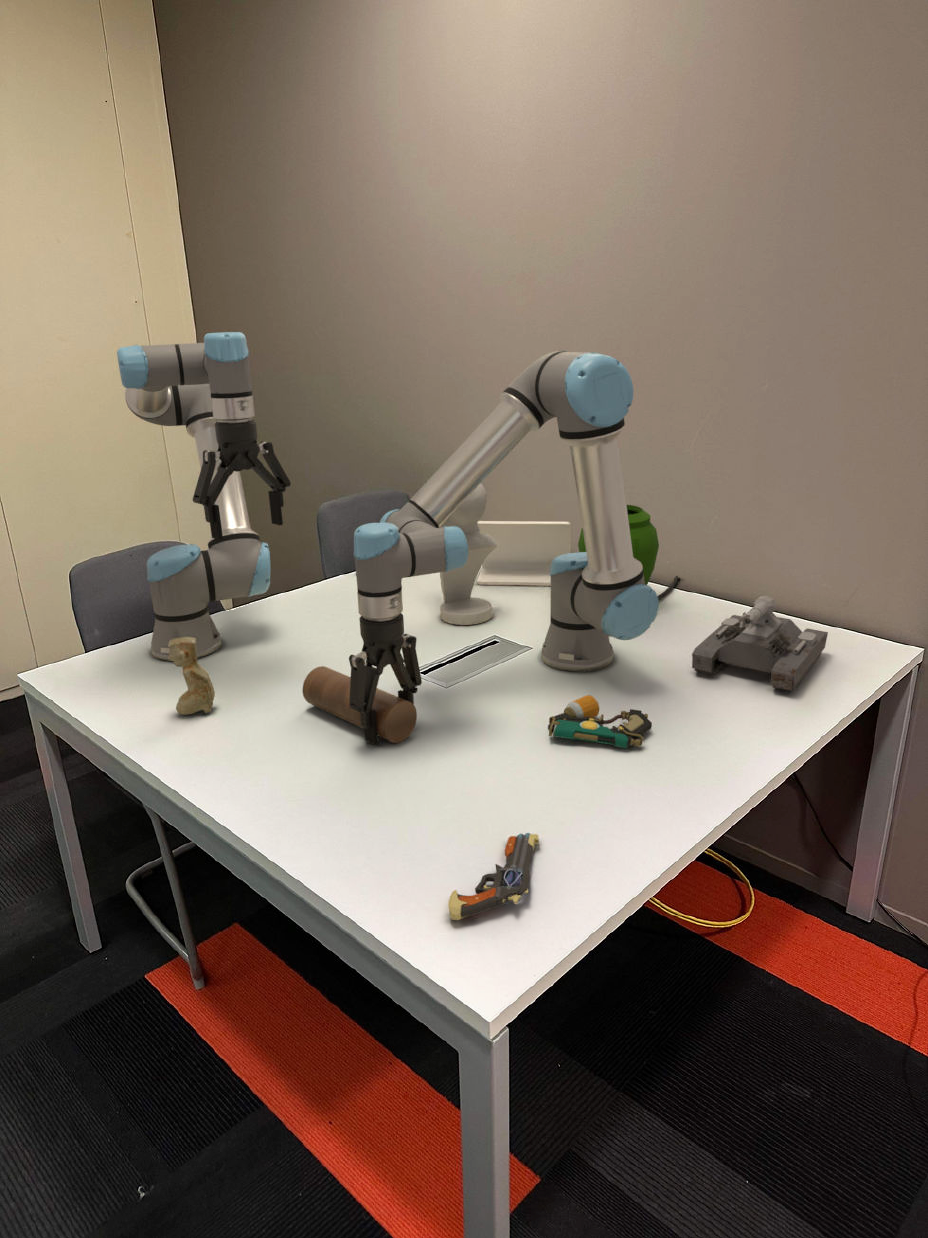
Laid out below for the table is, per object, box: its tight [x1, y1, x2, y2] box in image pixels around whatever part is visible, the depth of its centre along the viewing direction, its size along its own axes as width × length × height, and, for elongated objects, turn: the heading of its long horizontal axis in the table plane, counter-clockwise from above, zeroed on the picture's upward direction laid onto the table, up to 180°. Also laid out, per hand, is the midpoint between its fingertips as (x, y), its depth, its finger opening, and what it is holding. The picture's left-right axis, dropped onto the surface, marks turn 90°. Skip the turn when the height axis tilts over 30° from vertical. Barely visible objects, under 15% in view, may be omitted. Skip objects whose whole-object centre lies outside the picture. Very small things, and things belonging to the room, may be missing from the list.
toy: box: [691, 595, 829, 692], centre depth 175 cm, size 25×20×15 cm
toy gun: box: [448, 832, 540, 921], centre depth 114 cm, size 3×19×10 cm
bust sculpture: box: [439, 482, 498, 626], centre depth 207 cm, size 16×24×35 cm
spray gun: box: [547, 694, 653, 749], centre depth 151 cm, size 4×17×15 cm
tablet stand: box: [476, 520, 571, 587], centre depth 236 cm, size 18×25×17 cm
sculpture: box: [168, 637, 216, 716], centre depth 162 cm, size 6×7×15 cm
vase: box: [577, 504, 660, 585], centre depth 210 cm, size 20×20×24 cm
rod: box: [302, 665, 418, 744], centre depth 158 cm, size 24×8×8 cm, turn 47°
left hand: (248, 531), depth 166 cm, fingers open, 13 cm apart
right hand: (389, 732), depth 154 cm, fingers closed on rod, 8 cm apart
